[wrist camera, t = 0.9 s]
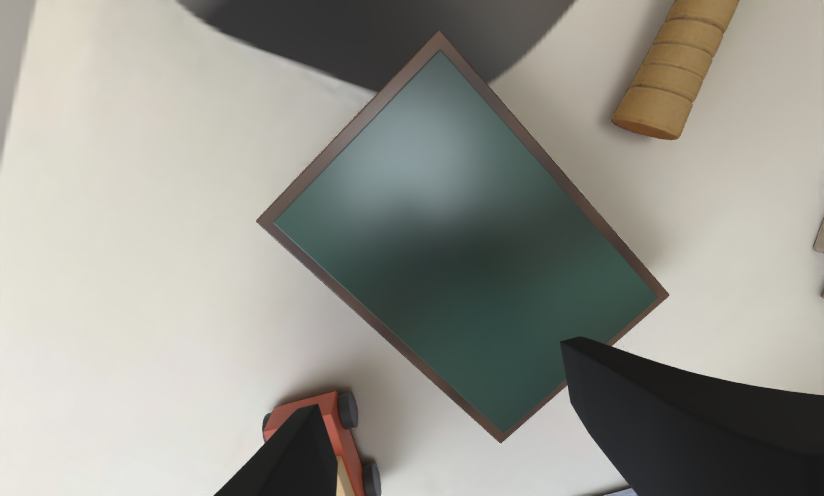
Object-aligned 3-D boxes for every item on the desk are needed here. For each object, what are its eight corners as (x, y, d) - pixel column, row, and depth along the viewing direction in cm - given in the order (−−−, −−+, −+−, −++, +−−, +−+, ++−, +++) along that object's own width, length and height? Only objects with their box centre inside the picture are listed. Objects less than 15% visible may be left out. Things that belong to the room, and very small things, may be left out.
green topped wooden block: (637, 279, 21) (676, 298, 18) (488, 412, 22) (502, 450, 19) (432, 47, 18) (440, 24, 15) (272, 214, 19) (251, 222, 17)
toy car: (382, 485, 23) (382, 548, 19) (306, 505, 23) (290, 573, 19) (348, 380, 22) (340, 426, 18) (267, 401, 21) (241, 452, 18)
